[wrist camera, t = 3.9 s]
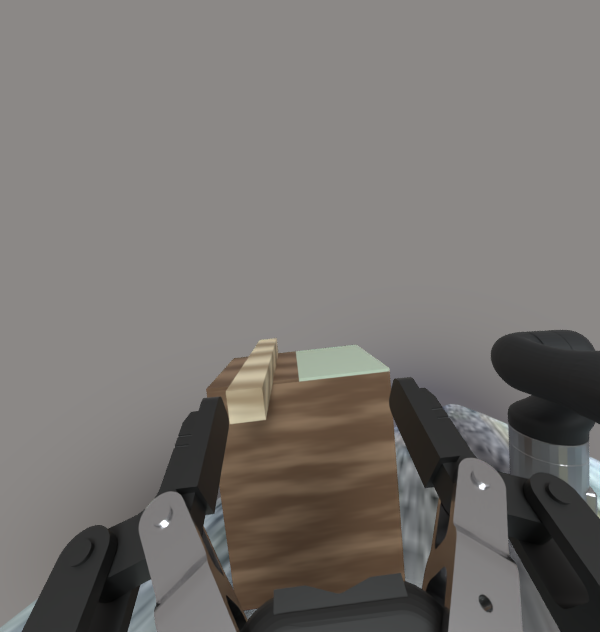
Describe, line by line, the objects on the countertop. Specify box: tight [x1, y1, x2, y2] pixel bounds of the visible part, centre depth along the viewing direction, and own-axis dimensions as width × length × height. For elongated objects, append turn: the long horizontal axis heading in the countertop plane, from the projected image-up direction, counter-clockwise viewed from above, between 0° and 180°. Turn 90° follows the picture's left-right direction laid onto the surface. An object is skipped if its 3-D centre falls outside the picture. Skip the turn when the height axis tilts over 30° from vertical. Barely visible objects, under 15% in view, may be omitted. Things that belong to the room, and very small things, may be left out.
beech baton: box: [226, 338, 278, 424], centre depth 35 cm, size 26×3×3 cm, turn 3°
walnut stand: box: [206, 345, 405, 611], centre depth 41 cm, size 16×24×32 cm, turn 93°
